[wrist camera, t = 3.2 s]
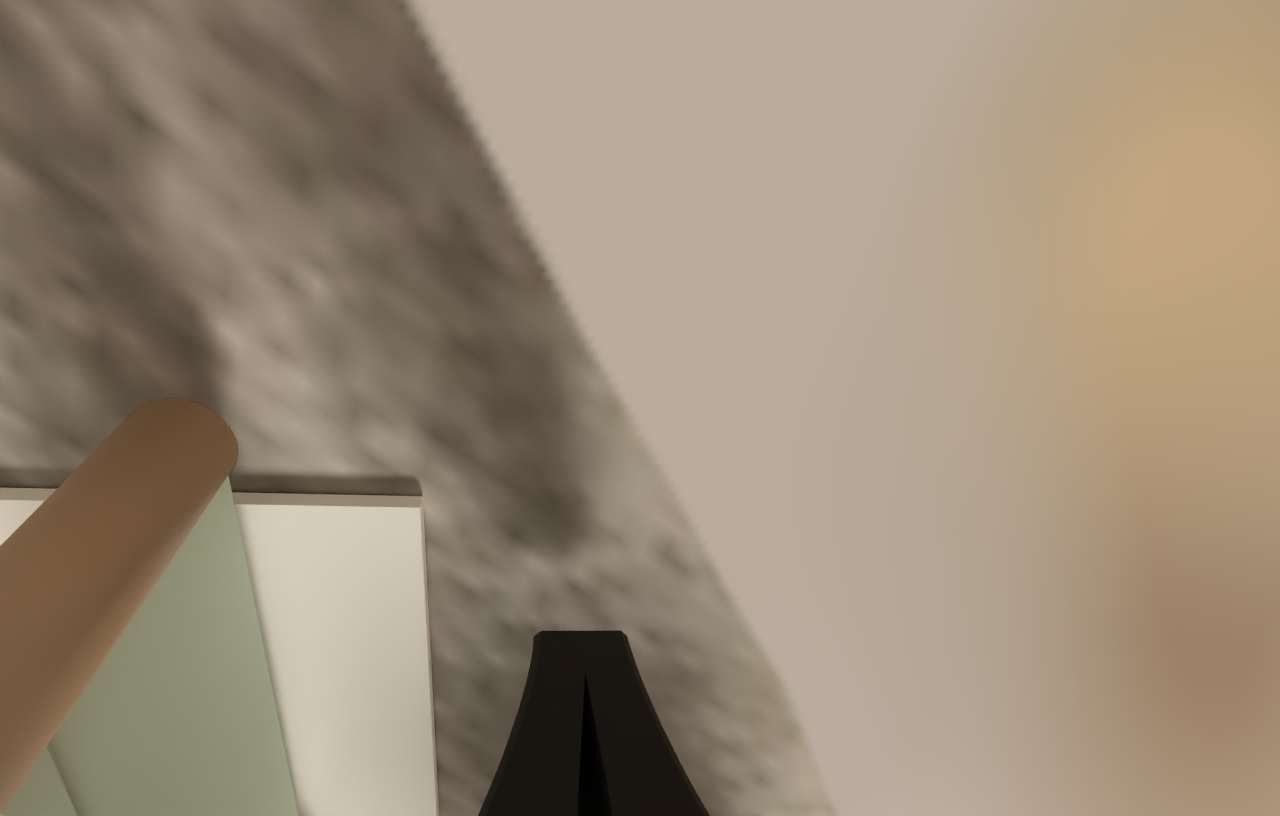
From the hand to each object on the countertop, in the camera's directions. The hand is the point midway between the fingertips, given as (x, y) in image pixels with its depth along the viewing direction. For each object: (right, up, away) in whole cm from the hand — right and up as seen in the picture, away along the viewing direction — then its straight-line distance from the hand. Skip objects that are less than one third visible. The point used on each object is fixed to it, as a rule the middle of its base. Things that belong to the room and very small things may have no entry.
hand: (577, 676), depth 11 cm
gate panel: (-6, 0, +1) cm, 6 cm away
